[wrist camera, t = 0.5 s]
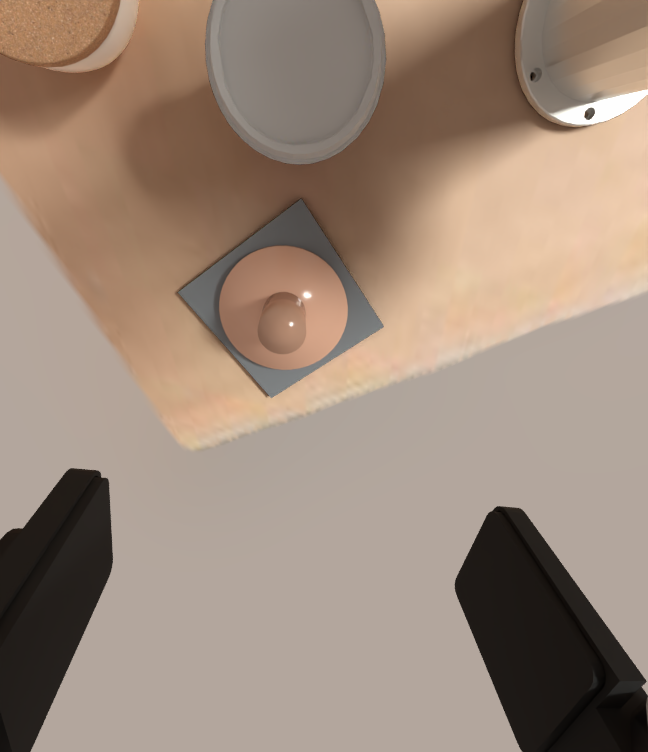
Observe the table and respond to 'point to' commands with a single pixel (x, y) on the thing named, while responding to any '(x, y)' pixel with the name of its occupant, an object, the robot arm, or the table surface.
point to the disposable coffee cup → (296, 73)
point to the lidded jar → (66, 32)
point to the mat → (293, 231)
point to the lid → (283, 307)
